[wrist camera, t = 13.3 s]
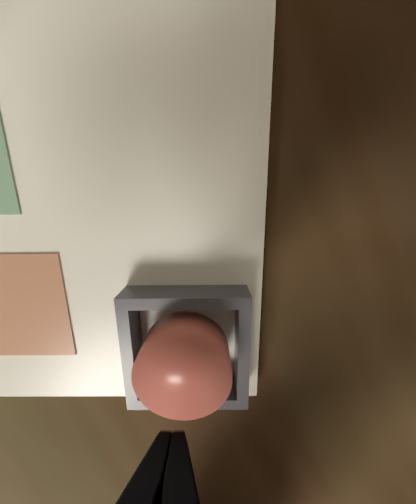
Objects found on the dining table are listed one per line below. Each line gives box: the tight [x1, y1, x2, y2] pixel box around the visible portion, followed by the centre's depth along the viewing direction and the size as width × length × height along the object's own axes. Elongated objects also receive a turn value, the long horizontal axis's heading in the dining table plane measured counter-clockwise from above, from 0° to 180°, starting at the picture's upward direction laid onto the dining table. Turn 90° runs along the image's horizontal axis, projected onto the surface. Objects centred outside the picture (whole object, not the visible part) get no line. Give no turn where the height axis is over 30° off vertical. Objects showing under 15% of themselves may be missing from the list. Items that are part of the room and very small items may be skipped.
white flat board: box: [0, 0, 276, 410], centre depth 11 cm, size 20×22×3 cm
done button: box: [131, 312, 233, 421], centre depth 11 cm, size 4×4×2 cm
